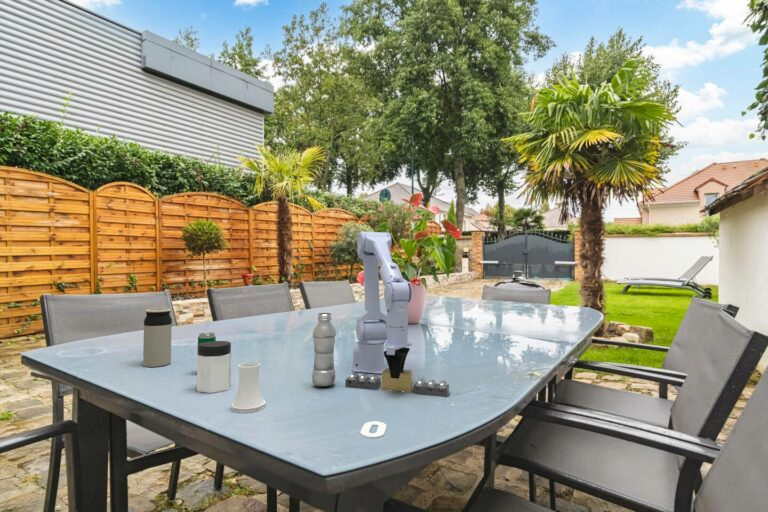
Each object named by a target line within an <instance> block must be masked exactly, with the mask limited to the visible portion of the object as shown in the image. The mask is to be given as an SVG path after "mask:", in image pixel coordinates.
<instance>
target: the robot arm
mask: <svg viewBox="0 0 768 512" xmlns="http://www.w3.org/2000/svg"><path fill="white" fill-rule="evenodd" d="M392 244H393V243H392V235H391V234H390V232H387V231H386V232H380V231H379V232H375V231H364V230H361V231H360V232H359V234H358V236H357V245H356V246H357V247H356V248H357V258H358V259H360V260H361V261H362V265H363V287H364V288H363V289H364V311H363V312H362V313H361V314H360V315H359V316H358V317H357V319H356V328H355V333H356V334H355V335H356V339H357V340H358V341H356V342H355V343H354V345H353V351H352V356H353V357H352V370H351V371H352V372H353V373H363V374H374V375H375V374H376V375H380V374H381V375H382V371H383V370H384V369H386V368H389V371H390V376H391V378H396V379H399V376H400V371H401V370H402V371H403V370H405V369H404V368H405V364H406V359H407V357H408V355H409V352H410V348H411V347H412V345H413V342H410V341H409V340H408V339H409V338H408V337H409V336H408V335H409V333H408V329H409V328H408V327H409V326H408V325H409V303H411V301H412V296H413V290H412V285H411V283H410V281H408V280H407V279H404V277H403V274H402V273H401V270H400V268H399V267H400V266H399V265H398V264H397V263H395V262H393V258H392V254H391V251H390V250H391V247H392ZM379 266H380V268H379ZM379 277H380V278H381V280H382V283H383V287H384V288H383V299H384V308H385V310H386V314H384V313H383V312H382V311H381V303H380V302H381V300H380V299H381V298H380V278H379ZM375 320H376V321H375ZM408 341H409V342H408ZM385 346H386V350H385ZM384 358H385V359H384ZM385 360H386V361H387V365H388V366H385V364H384V362H385Z"/></svg>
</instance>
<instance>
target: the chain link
mask: <svg viewBox="0 0 768 512" xmlns="http://www.w3.org/2000/svg"><path fill="white" fill-rule="evenodd" d="M372 427H377V430H376V431H375V432H373V433H372V432H371V430H372ZM387 428H388V426H387V424H386V423H384V422H382V421H376V420H375V421H368V422H365V423H364V424H363V426H362V427H361V430H360V436H361V437H363V438H366V439H379V438H382V437H384V436H385V434H386V431H387Z"/></svg>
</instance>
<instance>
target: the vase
mask: <svg viewBox="0 0 768 512" xmlns="http://www.w3.org/2000/svg"><path fill="white" fill-rule="evenodd" d="M260 365H261V363H259V362H255V361H254V362H252V361H251V362H250V361H249V362H242V363H239V364H238V374H239V375H238V379H239V380H238V387H237V391H236V395H235V398H234V400H233V402H232V403H231V410H232V411H233V412H234V413H241V414H243V413H244V414H245V413H246V414H247V413H254V412H258V411H261V410H262V409H264V408H265V407H266V400H265V399H264V398H263V395H262V392H261V388H260V387H261V386H260V377H259V376H260V375H259V374H260V367H261V366H260Z"/></svg>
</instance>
